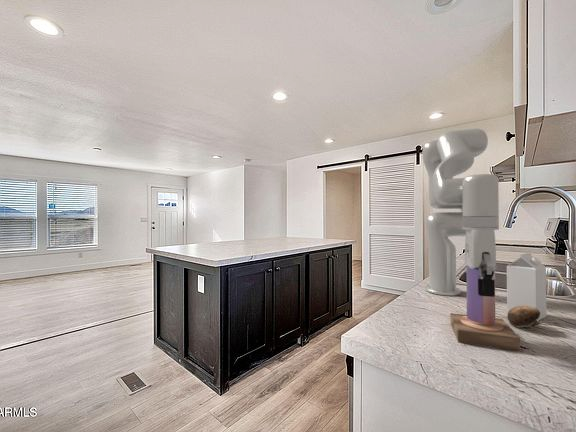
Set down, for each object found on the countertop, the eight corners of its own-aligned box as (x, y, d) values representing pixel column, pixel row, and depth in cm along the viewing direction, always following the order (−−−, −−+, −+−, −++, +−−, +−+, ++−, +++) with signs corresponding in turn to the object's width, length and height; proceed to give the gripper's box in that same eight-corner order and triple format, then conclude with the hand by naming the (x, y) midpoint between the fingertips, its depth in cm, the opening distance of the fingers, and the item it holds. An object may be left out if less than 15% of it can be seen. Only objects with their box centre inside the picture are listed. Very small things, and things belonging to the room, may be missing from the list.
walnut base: (450, 323, 77) (450, 311, 77) (502, 330, 72) (502, 317, 72) (458, 342, 66) (458, 327, 66) (520, 351, 61) (520, 335, 61)
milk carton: (506, 314, 83) (506, 252, 83) (517, 309, 87) (516, 250, 87) (536, 322, 77) (536, 255, 77) (546, 317, 81) (546, 253, 80)
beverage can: (468, 323, 68) (467, 264, 68) (465, 315, 73) (465, 260, 73) (497, 328, 65) (497, 266, 65) (492, 319, 70) (492, 262, 70)
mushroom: (554, 317, 72) (536, 297, 74) (545, 336, 68) (525, 314, 70) (524, 322, 79) (507, 303, 80) (514, 338, 75) (497, 318, 76)
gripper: (456, 222, 78) (457, 281, 78) (470, 224, 62) (471, 298, 62) (488, 222, 75) (488, 283, 75) (510, 225, 59) (511, 302, 59)
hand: (480, 290), depth 69 cm, fingers open, 9 cm apart
